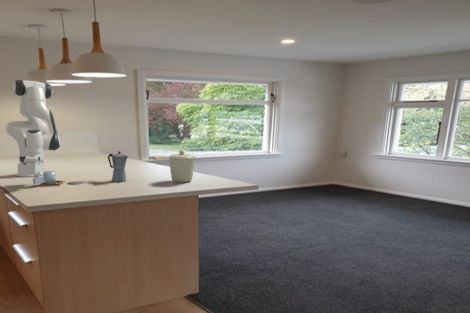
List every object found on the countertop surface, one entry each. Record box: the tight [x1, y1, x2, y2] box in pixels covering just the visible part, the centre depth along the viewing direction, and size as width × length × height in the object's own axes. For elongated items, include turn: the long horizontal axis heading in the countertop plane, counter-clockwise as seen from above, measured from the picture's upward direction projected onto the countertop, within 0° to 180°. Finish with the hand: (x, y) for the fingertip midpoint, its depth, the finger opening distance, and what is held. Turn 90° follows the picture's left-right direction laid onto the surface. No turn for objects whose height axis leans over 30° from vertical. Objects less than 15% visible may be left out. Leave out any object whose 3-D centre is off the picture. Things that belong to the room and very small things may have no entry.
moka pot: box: [107, 151, 129, 183], centre depth 217 cm, size 10×15×20 cm, turn 78°
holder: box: [36, 179, 66, 188], centre depth 203 cm, size 17×13×2 cm
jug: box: [32, 170, 57, 185], centre depth 198 cm, size 13×6×8 cm, turn 157°
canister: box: [167, 149, 196, 183], centre depth 218 cm, size 18×18×21 cm
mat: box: [66, 180, 85, 186], centre depth 206 cm, size 10×10×1 cm
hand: (37, 179), depth 196 cm, fingers closed
